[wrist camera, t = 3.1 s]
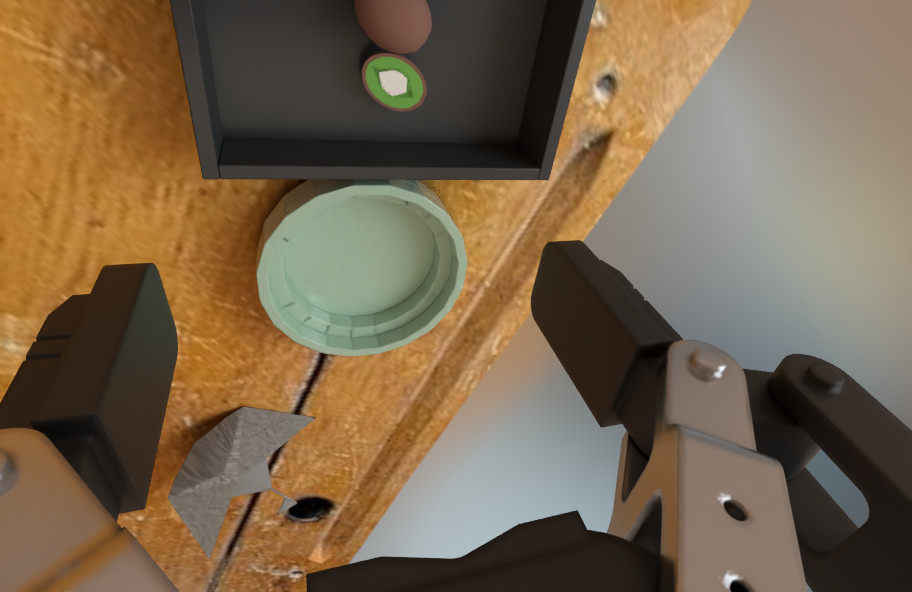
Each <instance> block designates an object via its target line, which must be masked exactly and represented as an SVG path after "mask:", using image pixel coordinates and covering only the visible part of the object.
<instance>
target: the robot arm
mask: <svg viewBox="0 0 912 592" xmlns="http://www.w3.org/2000/svg"><path fill="white" fill-rule="evenodd" d="M531 310H532V314H533V317H534V320H535V322H536V323H537V325H538V327H539V328H540V330H541V331H542V333H543V335H544V336H545V338H546V339H547V341H548V343H549V344H550V346H551V347H552V349H553V351H554V352H555V354H556V356H557V357H558V359H559V361H560V362H561V363H562V365H563V367H564V369H565V370H566V372H567V373H568V375H569V377H570V378H571V380H572V381H573V383H574V385H575V386H576V388H577V390H578V391H579V393H580V394H581V396H582V398H583V399H584V401H585V403H586V404H587V406H588V407H589V409H590V411H591V412H592V414H593V416H594V417H595V419H596V420H597V422H598V424H599V425H600V427H607V426H612V425H618V424H623V425H624V427H625V428H626V430H627V431H626V433H625V435H624V437H623V439H622V444H621V452H620V460H619V468H618V476H617V484H616V492H615V499H614V508H613V514H612V518H611V522H610V525H609V528H608V531H607V533H603V532H597V531H592V530H587V528H586V527H585V525H584V522H583V520H582V518H581V516H580V514H579V513H578V511H572V512H568V513H564V514H560V515H555V516H551V517H547V518H543V519H539V520H534V521H530V522H526V523H522V524H518V525H517V526H515V527H513V528H511V529H510V530H508V531H506V532H504V533H503V534H501V535H499V536H497V537H496V538H494V539H492V540H491V541H489V542H487V543H486V544H484V545H482V546H480V547H478V548H477V549H475V550H473V551H471V552H470V553H468V554H467V555H465V556H462V557H459V558H454V559H443V558H412V557H411V558H409V557H378V558H373V559H369V560H365V561H360V562H356V563H352V564H348V565H343V566H339V567H335V568H331V569H326V570H322V571H318V572H314V573H309V574H306V580H307V592H808V591H807V586H806V583H807V584H808V586H809V587H810V588H811V590H812V591H813V592H912V431H911V430H910V429H909V428H908V427H907V426H906V425H905V424H903V423H902V422H901V421H900V420H899V419H898V418H897V417H896V416H894V415H893V414H892V413H891V412H890V411H889V410H888V409H886V408H885V407H884V406H883V405H882V404H881V403H880V402H879V401H877V400H876V399H875V398H874V397H873V396H872V395H871V394H869V393H868V392H867V391H866V390H865V389H864V388H863V387H861V386H860V385H859V384H858V383H857V382H856V381H855V380H854V379H852V378H851V377H850V376H849V375H847V374H846V373H845V372H844V371H842V370H841V369H839V368H838V367H836V366H834V365H833V364H831V363H829V362H827V361H824V360H822V359H819V358H816V357H813V356H809V355H804V354H792V355H788V356H786V357H785V358H784V359H783V360H782V362H781V363H780V364H779V366H778V367H777V368H776V370H775V371H774V373H772V372H763V371H757V370H748V369H742V368H741V367H740V365H739V364H738V363H737V362H736V361H735V360H734V359H733V358H732V357H731V356H730V355H729V354H727V353H726V352H724V351H723V350H720V349H719V348H717V347H715V346H713V345H711V344H708V343H705V342H701V341H696V340H683V339H682V338H681V337H680V335H679V334H678V333H677V332H676V331H675V330H674V329H673V328H672V327H671V326H670V325H669V324H668V323H667V321H666V320H665V319H664V318H663V317H662V316H661V315H660V314H659V313H658V312H657V311H656V310H655V309H654V308H653V306H651V304H650V303H649V302H648V301H644V297H643V296H642V295H641V293H640V292H639V291H638V290H637V289H633V285H632V284H631V283H630V282H629V281H628V280H627V278H626V277H625V276H624V275H623V274H622V273H621V272H620V271H618V270H617V269H615V268H613V267H612V266H610V265H609V264H607V263H605V262H604V261H602V260H599V259H598V258H597V257H596V256H595V255H594V254H593V252H592V251H591V250H590V249H589V248H588V247H587V246H586V245H585V244H584V243H583V242H582V241H579V240H575V241H557V242H549V243H547V244H546V246H545V247H544V249H543V253H542V256H541V260H540V264H539V268H538V272H537V276H536V279H535V283H534V287H533V291H532V295H531ZM36 339H37V341H36V342H33V344H32V346H31V348H30V350H29V351H28V353H27V355H26V361H23V362H22V364H21V366H20V368H19V370H18V372H17V373H16V375H15V377H14V379H13V381H12V383H11V384H10V386H9V388H8V390H7V392H6V394H5V395H4V397H3V399H2V401H1V403H0V592H179V591H178V589H177V588H176V587H175V586H174V585H173V583H172V582H171V581H170V580H169V578H168V577H167V576H166V575H165V574H164V572H163V571H162V570H161V569H160V567H159V566H158V565H157V564H156V563H155V561H154V560H153V559H152V558H151V556H150V555H149V554H148V553H147V552H146V550H145V549H144V548H143V547H142V545H141V544H140V543H139V542H138V541H137V539H136V538H135V537H134V536H133V535H132V534H131V533H130V532H129V530H127V529H126V528H125V527H123V528H121V527H120V526H119V525H118V523H117V519H118V515H119V514H120V513H126V512H131V511H137V510H142V509H145V505H146V501H147V496H148V491H149V487H150V482H151V477H152V473H153V468H154V463H155V459H156V454H157V449H158V444H159V440H160V435H161V430H162V426H163V421H164V416H165V412H166V407H167V402H168V398H169V393H170V388H171V383H172V379H173V374H174V369H175V365H176V360H177V353H178V340H177V332H176V327H175V323H174V320H173V317H172V313H171V310H170V307H169V304H168V300H167V297H166V294H165V291H164V287H163V284H162V281H161V278H160V274H159V271H158V269H157V267H156V266H155V264H153V263H139V264H121V265H106V266H104V267H103V268H102V270H101V272H100V274H99V276H98V278H97V280H96V282H95V285H94V287H93V289H92V291H91V293H90V294H83V295H72V296H71V297H70V298H69V299H67V300H66V301H65V302H64V303H63V304H61V305H60V306H59V307H58V308H56V309H55V310H54V311H53V312H52V313H50V314H49V315H48V317H47V318H46V320H45V322H44V324H43V326H42V328H41V329H40V331H39V333H38V335H37V337H36ZM821 449H822V450H823V451H824V452H825V453H826V454H827V455H828V457H830V459H831V460H832V461H833V462H834V463H835V464H836V465H837V466H838V467H839V468H840V469H841V470H842V471H843V473H844V474H845V475H846V476H847V477H848V478H849V479H850V480H851V481H852V482H853V483H854V484H855V486H856V487H857V488H858V489H859V490H860V491H861V492H862V493H863V495H864V497H865V498H866V500H867V503H868V506H869V518H868V520H867V521H866V523H865V524H863V525H862V526H861V527H860V528H858V527H857V526H856V525H855V524H854V523H853V521H852V520H851V519H850V518H849V517H848V516H847V515H846V513H845V512H844V511H843V510H842V509H841V508H840V507H839V505H838V504H837V503H836V502H835V501H834V500H833V499H832V497H831V496H830V495H829V494H828V493H827V492H826V491H825V489H824V488H823V487H822V486H821V485H820V484H819V483H818V482H817V480H816V479H815V478H814V477H813V476H812V475H811V473H810V472H809V471H808V470H807V469H806V468H805V466H806V465H807V464H808V463H809V462H810V461H811V459H812V458H813V457H814V456H815V455H816V454H817V453H818V452H819V451H820V450H821Z"/></svg>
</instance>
